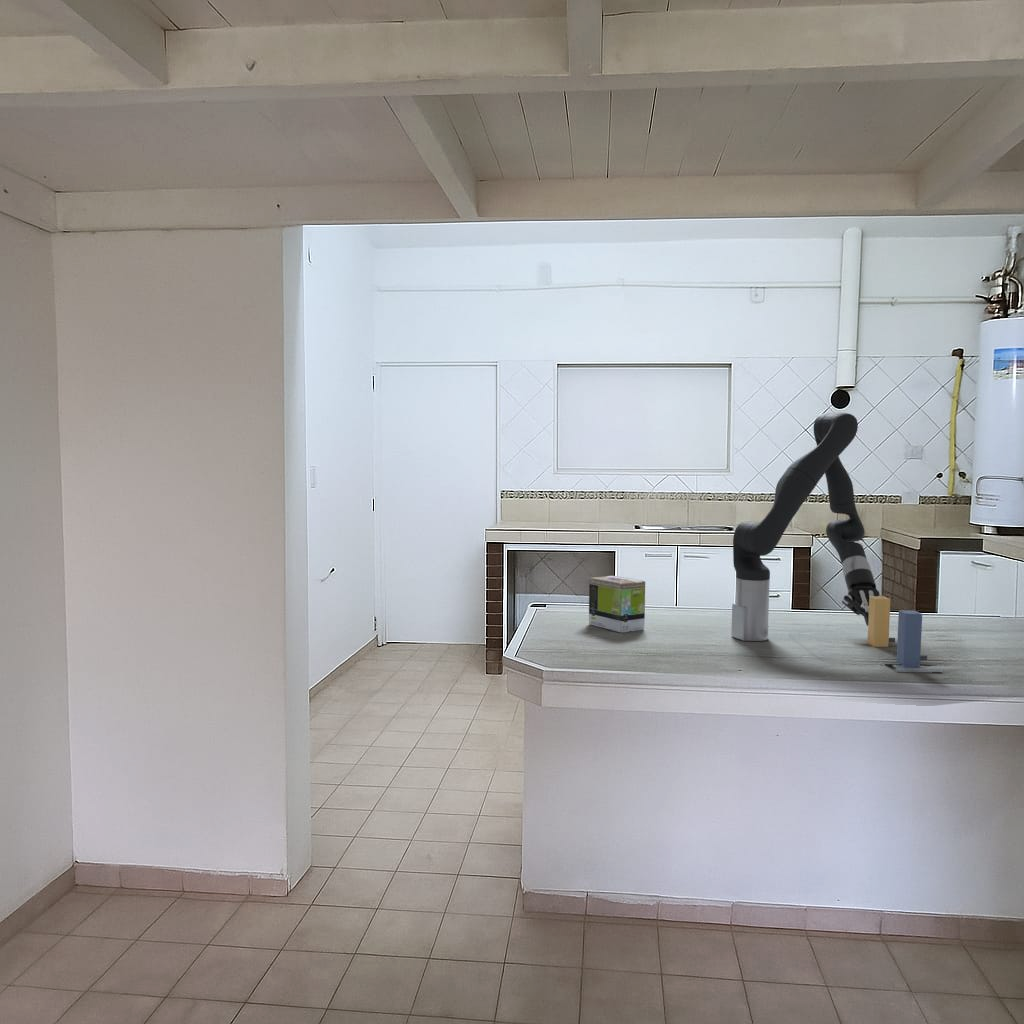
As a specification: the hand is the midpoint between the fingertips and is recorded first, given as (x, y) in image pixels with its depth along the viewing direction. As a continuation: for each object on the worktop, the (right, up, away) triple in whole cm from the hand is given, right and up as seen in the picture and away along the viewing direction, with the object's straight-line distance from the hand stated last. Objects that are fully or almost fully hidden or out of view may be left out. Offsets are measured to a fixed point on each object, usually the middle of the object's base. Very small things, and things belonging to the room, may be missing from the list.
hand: (873, 626), depth 230 cm
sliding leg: (+1, -5, -4) cm, 6 cm away
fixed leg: (0, -6, -23) cm, 23 cm away
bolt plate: (0, -7, -14) cm, 15 cm away
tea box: (-68, -4, +22) cm, 71 cm away
